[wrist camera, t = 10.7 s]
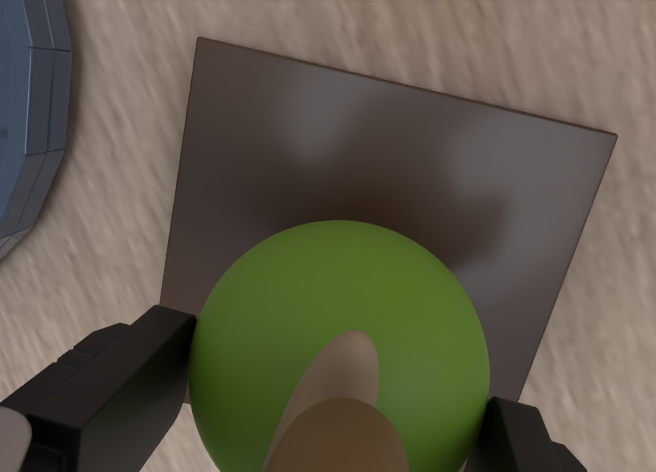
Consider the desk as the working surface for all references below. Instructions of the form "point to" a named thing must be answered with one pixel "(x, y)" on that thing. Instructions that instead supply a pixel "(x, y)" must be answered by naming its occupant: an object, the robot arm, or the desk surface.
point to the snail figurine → (338, 357)
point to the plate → (31, 109)
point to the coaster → (382, 185)
